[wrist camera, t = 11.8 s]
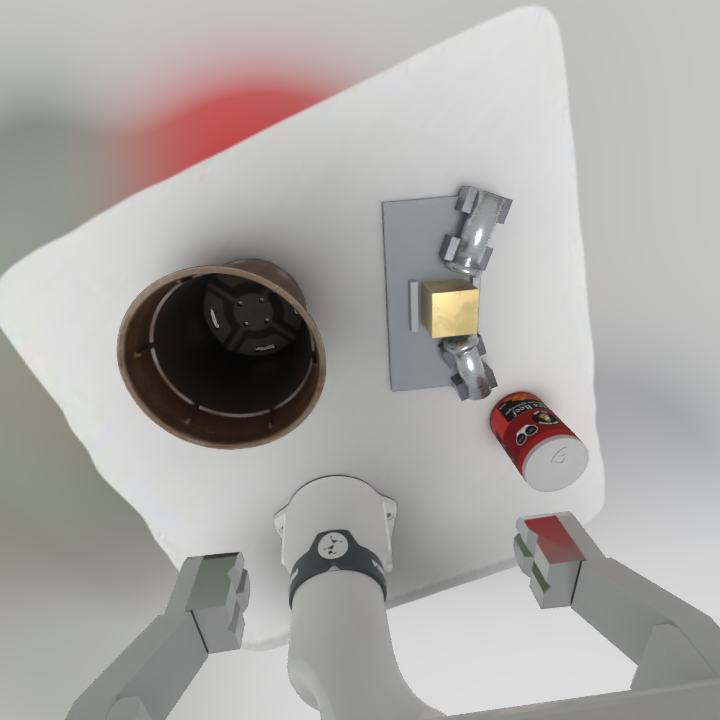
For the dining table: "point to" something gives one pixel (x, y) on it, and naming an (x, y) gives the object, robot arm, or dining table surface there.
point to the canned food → (538, 442)
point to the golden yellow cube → (450, 308)
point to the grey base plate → (417, 286)
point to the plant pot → (223, 354)
